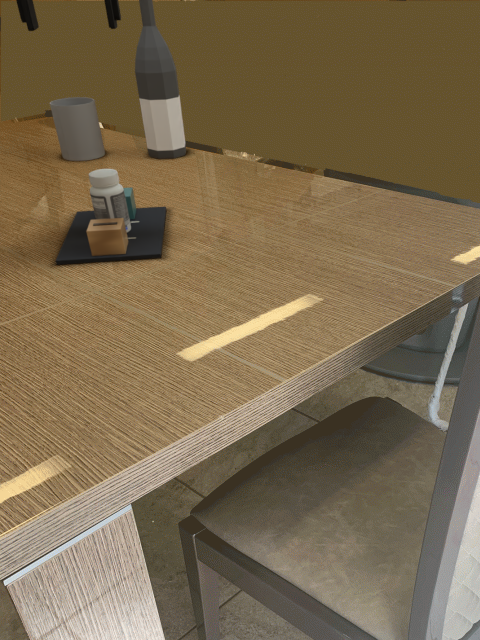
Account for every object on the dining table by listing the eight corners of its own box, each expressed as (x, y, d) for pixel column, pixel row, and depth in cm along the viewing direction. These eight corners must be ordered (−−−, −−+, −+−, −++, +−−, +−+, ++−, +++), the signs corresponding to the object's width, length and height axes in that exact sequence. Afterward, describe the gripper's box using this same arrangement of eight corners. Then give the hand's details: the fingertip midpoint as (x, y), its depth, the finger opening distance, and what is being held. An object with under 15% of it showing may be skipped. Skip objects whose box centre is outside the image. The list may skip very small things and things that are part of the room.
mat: (56, 264, 87) (55, 260, 87) (77, 215, 103) (76, 211, 102) (161, 258, 89) (160, 253, 88) (166, 210, 104) (165, 206, 104)
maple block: (92, 256, 88) (86, 230, 86) (96, 243, 91) (90, 218, 89) (125, 254, 88) (120, 228, 86) (128, 241, 92) (123, 216, 90)
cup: (95, 147, 136) (84, 95, 130) (112, 155, 131) (101, 101, 125) (56, 154, 132) (43, 101, 126) (72, 163, 127) (59, 107, 121)
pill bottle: (129, 223, 98) (118, 166, 93) (133, 234, 94) (122, 175, 89) (97, 227, 96) (84, 169, 91) (100, 238, 93) (87, 179, 88)
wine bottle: (177, 160, 128) (151, -24, 110) (140, 157, 130) (109, -24, 111) (194, 150, 134) (173, -26, 116) (159, 147, 136) (132, -26, 118)
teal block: (104, 220, 99) (99, 197, 97) (107, 211, 102) (103, 188, 100) (134, 219, 99) (130, 195, 97) (136, 209, 103) (132, 186, 101)
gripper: (120, -152, 73) (146, 24, 84) (-39, -153, 71) (8, 27, 82) (114, -160, 67) (142, 30, 78) (-60, -162, 65) (-7, 34, 76)
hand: (74, 28), depth 80 cm, fingers open, 9 cm apart
